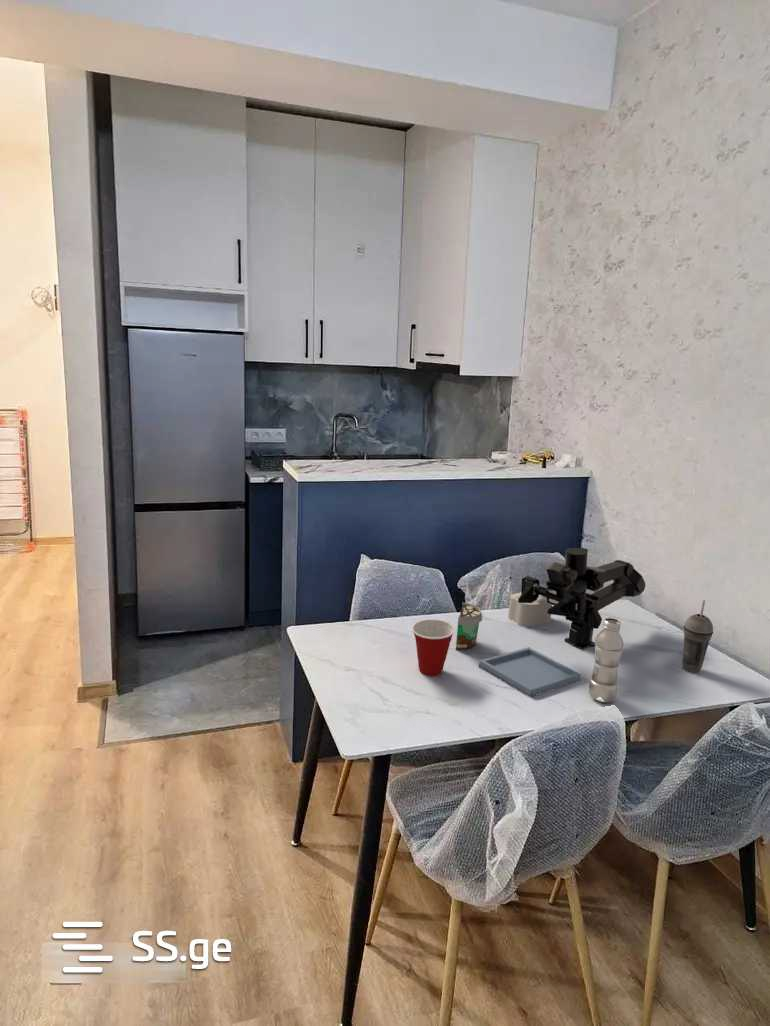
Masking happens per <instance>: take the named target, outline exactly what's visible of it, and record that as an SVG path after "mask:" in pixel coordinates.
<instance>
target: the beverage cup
mask: <svg viewBox="0 0 770 1026" xmlns="http://www.w3.org/2000/svg"><path fill="white" fill-rule="evenodd" d="M705 604H706V600H702V604H701V609H700V613H695V614H693V615H690V616H689V617H688V618H687V619H686V620H685V622H684V625H683V635H684V636H683V648H682V650H683V651H682V658H681V659H682V661H681V663H682V667H681V668H682V670H683V671H685V672H687V673H690V674H700V673H701V670H702V667H703V664H704V662H705V661H704V660H705V656H706V654H707V650H708V647H709V644H710V641H711V639H712V636H713V635H714V626H713V625H714V624H713V622H712V620H711V619H710V618H709V617H707V616H706V615H704V614H703V613H704V611H705V609H704V608H705Z"/></svg>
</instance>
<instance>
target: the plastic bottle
mask: <svg viewBox="0 0 770 1026" xmlns="http://www.w3.org/2000/svg"><path fill="white" fill-rule="evenodd" d="M603 620H604V622H603V625H602V630H600V631H599V633H597V634H596V637H595V639H594V642H595V645H594V664H593V665H594V666H593V669H592V674H591V678H590V680H589V684H588V693H589V695H590V698H592V699H593V700H595V701H597V700H596V699H597V698H598V697H601V698H602V699H603V700H604V701H605V702H604V703H612V702H613V701H614V700H615V699H616V698H617V693H618V683H617V682H618V669H619V663H620V659H621V656H622V652H623V650H624V639H623V637H622V635H621V634H620V631H621V624H622V623H621V621H620V620H619V619H617V618H612V617H606V618H604V619H603Z"/></svg>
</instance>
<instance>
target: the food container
mask: <svg viewBox="0 0 770 1026" xmlns="http://www.w3.org/2000/svg"><path fill="white" fill-rule="evenodd" d="M482 621H483V613H482V610H481V609H480V607H478V606H476V605H474V604H472V603H468V602H462V605H461V610H460V614H459V616H458V620H457V629H456V630H457V631H456V642H455V643H456V644H455V650H456V651H467V650H472V649H474V648H475V647H476V646H477V645H476V644H477V640H478V639H477V637H478V633H479V627H480V623H481V622H482Z"/></svg>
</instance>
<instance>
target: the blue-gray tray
mask: <svg viewBox="0 0 770 1026" xmlns="http://www.w3.org/2000/svg"><path fill="white" fill-rule="evenodd" d="M478 662H479V663H478V667H479V668H480V669H481V670H484V671H486V672H487V673H488V672H489V674H490V675H491V676H494V677H495V678H497V679H498V678H499V680H500V679H501V680H500V681H501V682H504V683H505V682H506V683H505V684H507V685H509V686H510V685H511V687H513V688H514V689H515V688H516V689H515V690H517V691H519V692H520V691H521V693H522V692H523V695H525V694H526V696H527V695H528V696H527V697H529V698H530V696H531V697H534V696H537V695H536V694H538V695H540V694H539V693H541V694H543V692H544V693H547V692H549V690H550V691H552V689H553V690H555V688H556V689H558V688H561V687H565V686H567V685H572V684H574V683H576V682H580V681H581V676H582V674H581V673H580V672H578V671H575V670H574V669H571V667H568V666H566V665H564V664H562V663H560V662H559V661H556V660H554V659H553V658H551V657H549V656H547V655H544V654H543V653H541V652H539V651H537V650H536V649H533V648H531V647H529V646H528V647H524V648H520V649H517V650H512V651H510V652H506V653H502V654H498V655H494V656H490V657H487V658H483V659H479V661H478ZM546 691H547V692H546ZM533 695H534V696H533Z"/></svg>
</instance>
